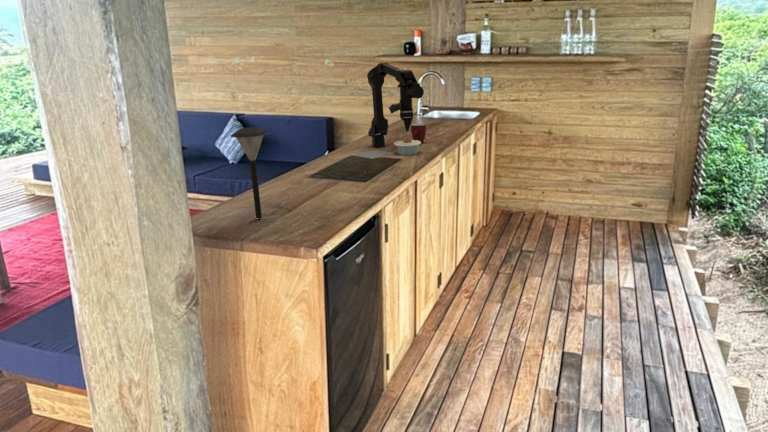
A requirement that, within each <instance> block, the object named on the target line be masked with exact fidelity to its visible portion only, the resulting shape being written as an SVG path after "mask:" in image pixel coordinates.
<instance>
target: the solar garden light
mask: <svg viewBox="0 0 768 432" xmlns="http://www.w3.org/2000/svg"><path fill="white" fill-rule="evenodd" d="M269 134H270V132H269V131H267V130H264V129H263V128H260V127H258V126H257V127H256V126H255V127H254V126H253V127H250V126H249V127H243V128H240V129H237V130H236V131H235V132H234V133H232V134H230V137H231V138H236V140H237V141H238V143H239V146H240V147H241V148H242V150H243V151H244V153H245V155H246V157H247V158H248V160H249V166H250V174H251V175H250V176H251V177H250V178H251V184H252V194H253V203H254V211H255V219H256V218H259V219H260V218H262V217H263V216H262V208H261V207H262V206H261V199H260V197H261V196H260V189H259V180H258V168H257V162H256V161H257V160H256V159H257V156H258V153H259V150H260V148H261V145H262V142H263V139H264V136H266V135H269ZM262 219H263V218H262Z"/></svg>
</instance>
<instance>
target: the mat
mask: <svg viewBox="0 0 768 432" xmlns="http://www.w3.org/2000/svg"><path fill="white" fill-rule="evenodd" d="M395 154H397V153H396V152H391V151H385V150H379V149H371V150H368V151H363V152H359V153H358V152H357V153H353V154H352V157H353V156H354V157H360V158H367V159H371V160H374V159H378V158H382V157H386V156H392V155H395Z"/></svg>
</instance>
